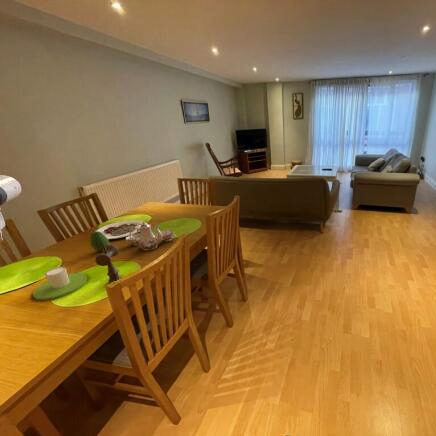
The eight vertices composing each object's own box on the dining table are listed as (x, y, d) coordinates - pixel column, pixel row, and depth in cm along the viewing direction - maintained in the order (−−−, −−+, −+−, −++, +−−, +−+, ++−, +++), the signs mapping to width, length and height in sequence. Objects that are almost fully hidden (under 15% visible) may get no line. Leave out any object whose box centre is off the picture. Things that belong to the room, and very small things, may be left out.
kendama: (126, 274, 116) (114, 237, 108) (119, 286, 107) (106, 246, 100) (112, 276, 114) (99, 238, 107) (103, 288, 106) (89, 249, 98)
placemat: (35, 306, 96) (34, 304, 95) (31, 287, 107) (30, 286, 106) (91, 284, 108) (90, 283, 108) (82, 270, 119) (81, 268, 119)
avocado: (97, 248, 140) (90, 229, 135) (112, 246, 142) (107, 228, 137) (91, 255, 133) (84, 235, 128) (108, 252, 135) (101, 233, 130)
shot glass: (74, 282, 109) (69, 269, 106) (55, 291, 103) (49, 277, 100) (66, 278, 111) (60, 265, 109) (47, 286, 106) (41, 273, 103)
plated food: (147, 234, 157) (146, 229, 155) (90, 245, 143) (88, 240, 142) (147, 219, 181) (146, 215, 180) (98, 228, 167) (96, 223, 166)
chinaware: (177, 237, 156) (172, 213, 151) (176, 246, 141) (170, 219, 136) (127, 245, 146) (120, 219, 141) (120, 256, 131) (112, 227, 126)
